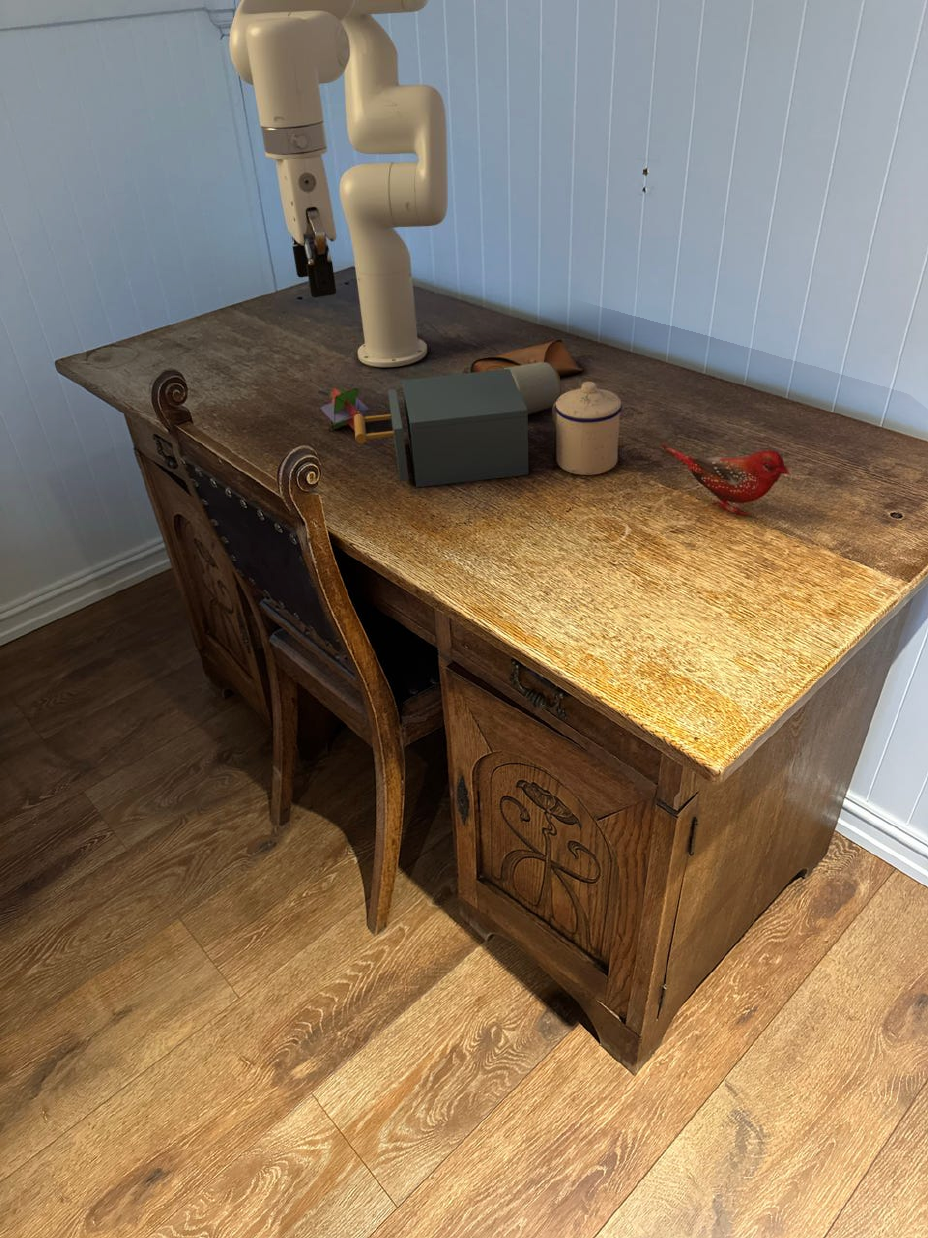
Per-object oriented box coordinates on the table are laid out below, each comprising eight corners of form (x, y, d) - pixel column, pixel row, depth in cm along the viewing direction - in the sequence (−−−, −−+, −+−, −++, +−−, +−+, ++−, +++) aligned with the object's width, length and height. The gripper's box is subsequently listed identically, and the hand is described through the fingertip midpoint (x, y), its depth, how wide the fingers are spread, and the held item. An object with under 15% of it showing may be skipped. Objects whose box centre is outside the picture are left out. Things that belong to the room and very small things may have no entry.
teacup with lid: (632, 463, 127) (637, 385, 120) (582, 483, 123) (584, 404, 116) (578, 433, 135) (579, 358, 128) (529, 452, 131) (528, 376, 124)
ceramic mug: (564, 412, 141) (564, 364, 136) (520, 425, 138) (519, 377, 133) (528, 390, 148) (527, 344, 144) (485, 403, 146) (483, 357, 141)
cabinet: (416, 487, 125) (409, 422, 119) (408, 441, 136) (402, 379, 130) (528, 474, 126) (527, 409, 120) (511, 429, 137) (509, 368, 131)
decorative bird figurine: (773, 534, 111) (786, 461, 105) (651, 490, 121) (657, 421, 115) (784, 524, 113) (798, 452, 106) (663, 481, 123) (669, 413, 116)
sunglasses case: (493, 395, 146) (482, 354, 145) (477, 402, 153) (466, 363, 152) (587, 369, 152) (576, 330, 151) (567, 378, 159) (557, 340, 158)
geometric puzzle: (383, 417, 138) (359, 369, 137) (347, 432, 135) (322, 383, 134) (364, 432, 144) (342, 386, 144) (329, 446, 141) (306, 400, 140)
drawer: (361, 485, 125) (353, 433, 120) (358, 442, 135) (351, 393, 130) (503, 469, 126) (502, 417, 121) (489, 428, 136) (487, 378, 131)
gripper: (340, 147, 103) (359, 298, 113) (311, 127, 116) (330, 264, 127) (275, 154, 101) (300, 308, 112) (253, 134, 115) (277, 272, 125)
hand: (316, 284), depth 119 cm, fingers open, 9 cm apart
